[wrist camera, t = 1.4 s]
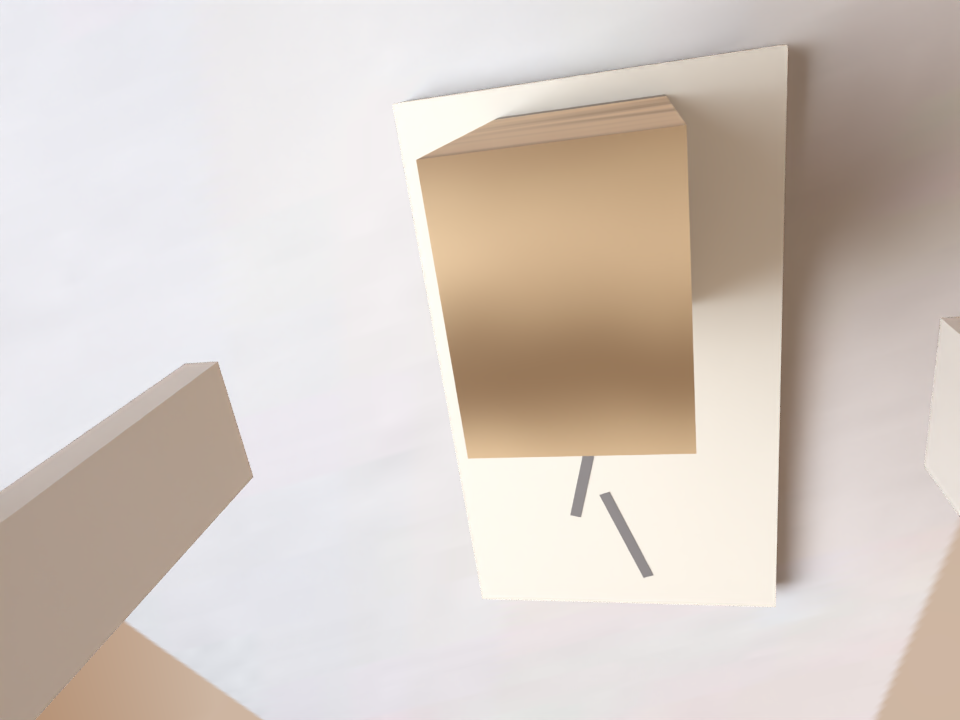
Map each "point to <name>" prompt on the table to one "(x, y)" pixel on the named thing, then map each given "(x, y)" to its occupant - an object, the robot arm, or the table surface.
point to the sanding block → (567, 280)
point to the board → (717, 362)
